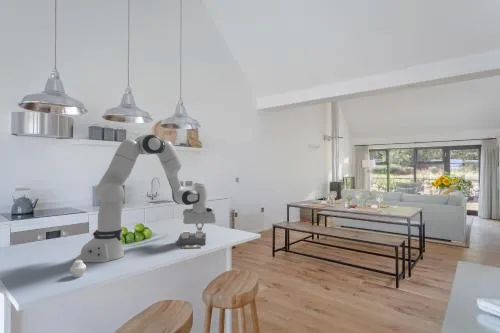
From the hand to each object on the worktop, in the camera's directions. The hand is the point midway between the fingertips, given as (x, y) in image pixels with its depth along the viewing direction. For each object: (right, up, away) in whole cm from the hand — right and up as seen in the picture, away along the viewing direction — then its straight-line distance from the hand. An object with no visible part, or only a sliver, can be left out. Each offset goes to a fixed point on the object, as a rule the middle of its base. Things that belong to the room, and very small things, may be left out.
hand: (199, 230), depth 184 cm
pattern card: (-2, -7, -15) cm, 16 cm away
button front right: (+1, -4, -7) cm, 8 cm away
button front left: (-7, -3, -8) cm, 11 cm away
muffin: (-42, -7, -59) cm, 73 cm away
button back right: (0, -3, 0) cm, 3 cm away
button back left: (-8, -3, -1) cm, 9 cm away
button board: (-4, -6, -4) cm, 8 cm away
